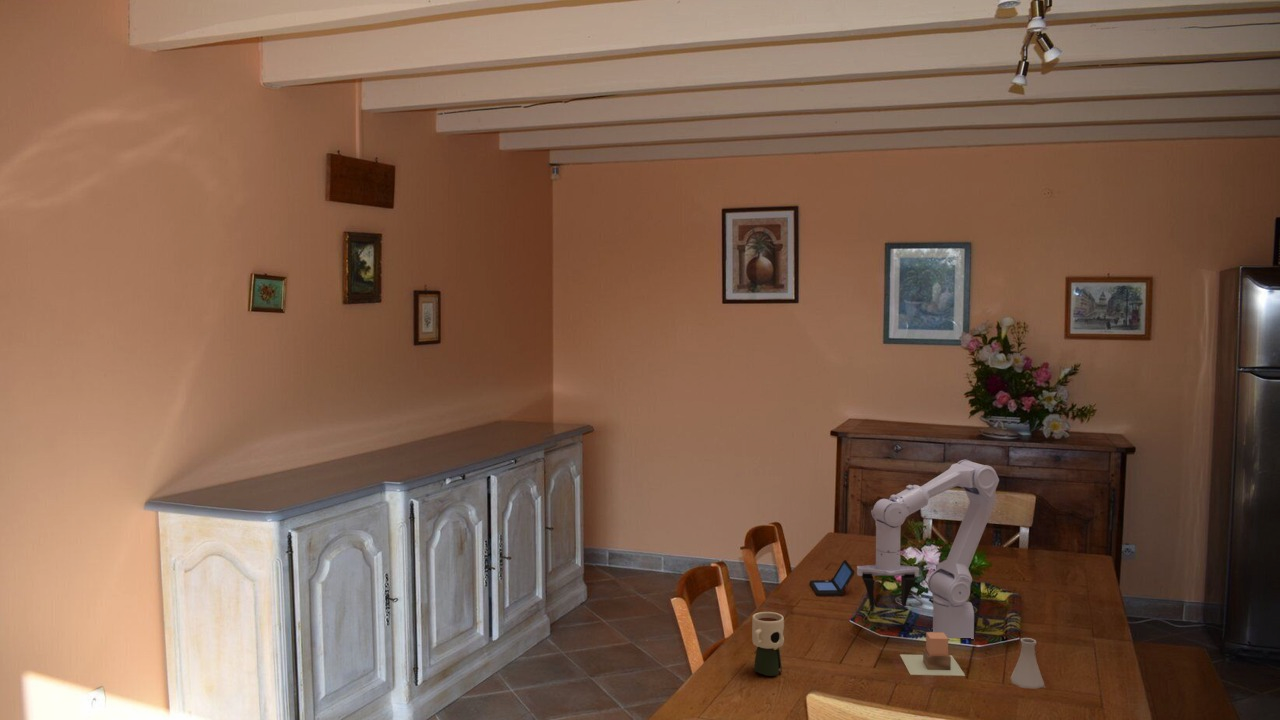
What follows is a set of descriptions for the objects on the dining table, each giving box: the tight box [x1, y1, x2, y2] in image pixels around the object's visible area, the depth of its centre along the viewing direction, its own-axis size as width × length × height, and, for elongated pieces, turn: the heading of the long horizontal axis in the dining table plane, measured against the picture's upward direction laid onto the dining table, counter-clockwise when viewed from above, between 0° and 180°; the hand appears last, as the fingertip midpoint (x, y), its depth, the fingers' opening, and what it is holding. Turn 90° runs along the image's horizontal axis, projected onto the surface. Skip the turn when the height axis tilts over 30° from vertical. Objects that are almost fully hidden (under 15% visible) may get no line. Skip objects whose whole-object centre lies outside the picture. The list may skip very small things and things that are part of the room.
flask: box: [1010, 637, 1046, 690], centre depth 214 cm, size 7×7×10 cm
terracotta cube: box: [925, 631, 949, 656], centre depth 223 cm, size 4×4×4 cm
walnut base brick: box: [922, 648, 951, 670], centre depth 223 cm, size 5×5×3 cm
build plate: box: [899, 654, 966, 677], centre depth 224 cm, size 12×12×1 cm
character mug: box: [751, 611, 785, 677], centre depth 221 cm, size 11×7×13 cm, turn 143°
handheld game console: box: [809, 559, 855, 598], centre depth 282 cm, size 12×11×7 cm
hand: (887, 604), depth 238 cm, fingers open, 7 cm apart
